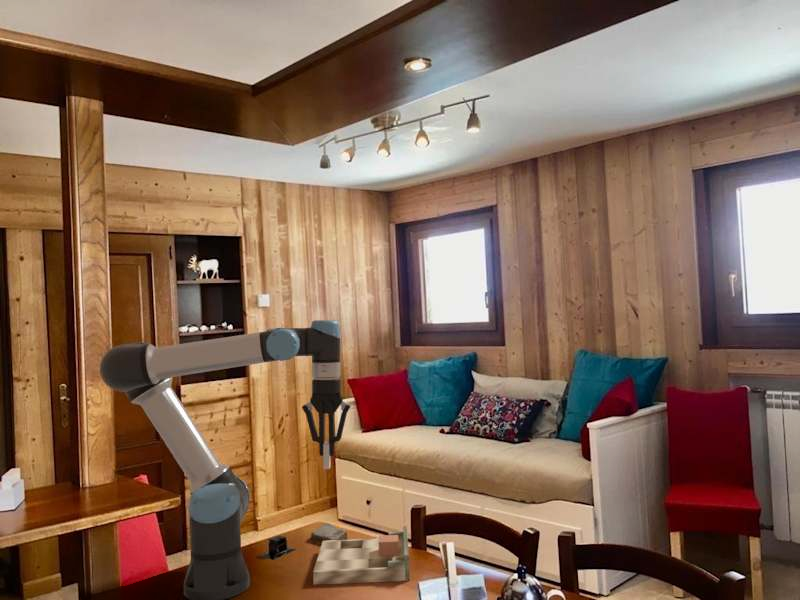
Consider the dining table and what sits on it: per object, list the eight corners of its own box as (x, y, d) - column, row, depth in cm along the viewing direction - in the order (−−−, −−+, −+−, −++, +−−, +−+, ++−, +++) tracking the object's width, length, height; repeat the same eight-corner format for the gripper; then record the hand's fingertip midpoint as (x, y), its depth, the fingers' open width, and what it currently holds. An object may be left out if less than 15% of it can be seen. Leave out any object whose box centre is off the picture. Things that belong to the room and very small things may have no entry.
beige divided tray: (313, 584, 156) (312, 559, 157) (323, 551, 178) (322, 529, 179) (409, 580, 157) (408, 555, 157) (407, 548, 179) (406, 526, 179)
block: (379, 556, 165) (378, 542, 165) (379, 549, 170) (378, 535, 170) (398, 555, 165) (398, 541, 165) (398, 548, 170) (398, 534, 170)
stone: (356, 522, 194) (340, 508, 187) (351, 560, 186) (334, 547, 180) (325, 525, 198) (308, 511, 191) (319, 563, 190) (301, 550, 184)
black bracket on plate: (271, 564, 172) (270, 547, 172) (251, 559, 176) (251, 542, 176) (303, 549, 182) (302, 533, 182) (283, 545, 186) (283, 529, 186)
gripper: (299, 379, 170) (300, 471, 169) (349, 379, 169) (350, 471, 169) (304, 377, 177) (304, 464, 177) (352, 376, 177) (353, 464, 176)
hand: (327, 467), depth 173 cm, fingers closed
